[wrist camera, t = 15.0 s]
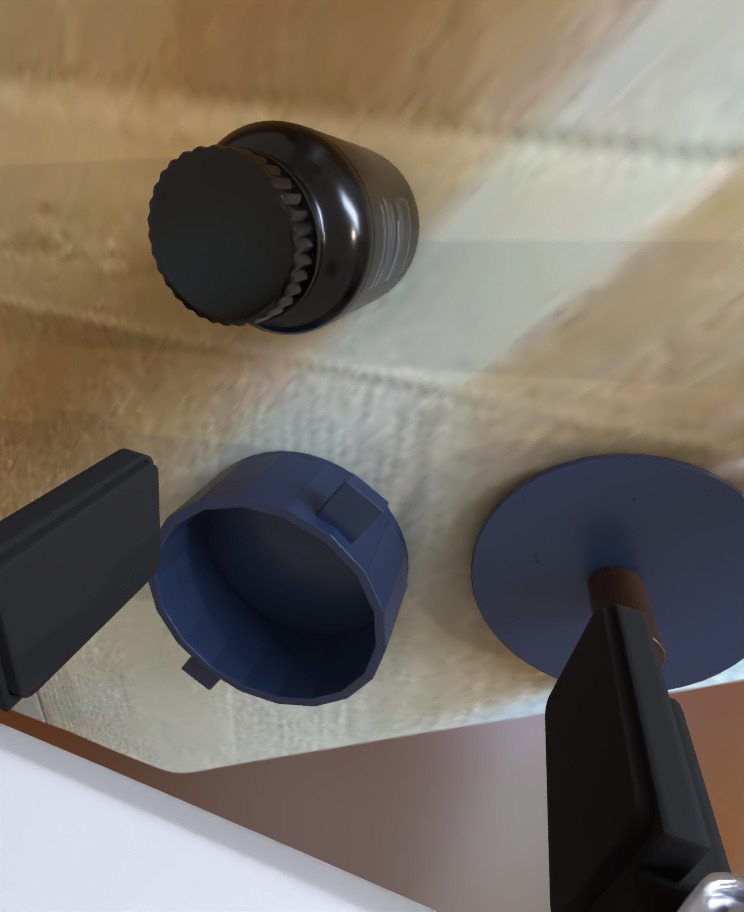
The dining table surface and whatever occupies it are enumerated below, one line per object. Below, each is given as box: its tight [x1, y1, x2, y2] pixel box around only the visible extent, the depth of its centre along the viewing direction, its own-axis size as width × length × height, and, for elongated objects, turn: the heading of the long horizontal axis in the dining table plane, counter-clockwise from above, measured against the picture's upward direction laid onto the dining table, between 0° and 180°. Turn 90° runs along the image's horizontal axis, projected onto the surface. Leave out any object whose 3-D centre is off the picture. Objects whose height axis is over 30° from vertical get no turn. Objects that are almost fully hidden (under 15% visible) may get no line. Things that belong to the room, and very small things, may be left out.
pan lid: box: [471, 454, 744, 690], centre depth 26 cm, size 15×15×6 cm
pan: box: [149, 451, 408, 706], centre depth 31 cm, size 14×20×6 cm
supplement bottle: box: [147, 121, 419, 335], centre depth 20 cm, size 7×7×12 cm
